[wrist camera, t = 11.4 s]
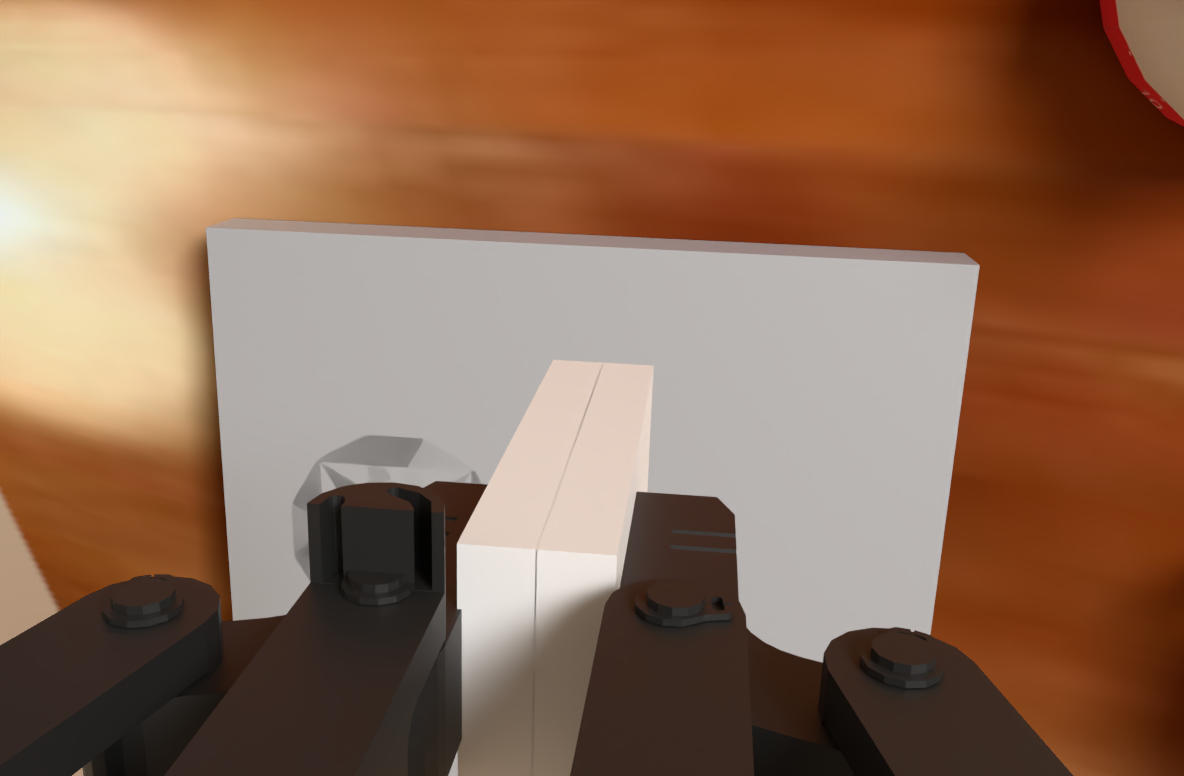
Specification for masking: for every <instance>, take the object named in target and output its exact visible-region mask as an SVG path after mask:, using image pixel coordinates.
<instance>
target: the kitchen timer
mask: <svg viewBox="0 0 1184 776" xmlns="http://www.w3.org/2000/svg"><path fill="white" fill-rule="evenodd" d="M1099 1H1100V8H1101V15H1102V22H1103V28H1104V30H1105V33H1106V35H1107V37H1108V39H1109V41H1110V43H1111V45H1112V47H1113V49H1114V51H1115V53H1116V55H1117V57H1118V59H1119V61H1120V63H1121V65H1122V67H1123V69H1124V72H1125V74H1126V76H1127V78H1128V79H1129V80H1130V81H1131V82H1132V83H1133V84H1134V85H1135V86H1136V87H1137V88H1138V89H1139V90H1140V92H1141V93H1142V94H1143V95H1144V96H1145V97H1146V98H1147V99H1148V100H1149V101H1150V102H1151V103H1152V104H1153V105H1154V106H1155V107H1156V108H1157V109H1158V110H1159V111H1160V112H1161V113H1162V114H1163V115H1164V116H1165V117H1166V118H1168V119H1170V120H1171V121H1173V122H1175V123H1177V124H1179V125H1181V126H1183V127H1184V0H1099Z"/></svg>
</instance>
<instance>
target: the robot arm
mask: <svg viewBox="0 0 1184 776" xmlns="http://www.w3.org/2000/svg"><path fill="white" fill-rule="evenodd" d="M653 367H654V366H653V365H636V364H619V363H601V362H584V361H567V360H553V361H552V363H551V365H550V367H549V369H548V371H547V373H546V375H545V377H544V378H543V380H542V382H541V384H540V386H539V388H538V390H537V392H536V394H535V396H534V398H533V399H532V401H531V403H530V405H529V407H528V409H527V411H526V413H525V415H524V417H523V418H522V420H521V422H520V424H519V426H518V428H517V430H516V432H515V434H514V436H513V438H512V439H511V441H510V443H509V445H508V447H507V449H506V451H505V453H504V455H503V457H502V459H501V460H500V462H499V464H498V466H497V468H496V470H495V472H494V474H493V476H492V478H491V480H490V481H489V483H488V484H474V483H460V482H445V481H435V482H433V483H431V484H429V485H427V486H426V487H424V488H422V487H419V486H415V485H408V484H402V483H395V482H374V483H361V484H355V485H348V486H342V487H339V488H336V489H333V490H330V491H327V492H324V493H321V494H320V495H318V496H317V497H315V498H314V499H312V500H311V501H309V502H308V503H307V520H308V541H309V563H310V584H309V585H308V586H307V588H306V589H305V590H304V592H303V593H302V594H301V596H300V597H299V598H298V600H297V601H296V602H295V604H294V605H293V606H292V607H291V609H290V610H289V611H288V613H287V614H286V615H282V616H275V617H268V618H257V619H246V620H235V621H223V622H222V619H221V605H220V596H219V594H218V593H217V592H216V591H215V590H214V589H213V588H212V586H211V585H208V584H206V583H203V582H200V581H198V580H195V579H192V578H183V577H173V576H171V575H167V574H165V575H154V577H151V575H145V576H138V577H134V578H132V579H131V580H129V581H125V582H121V583H117V584H112V585H109V586H107V587H105V588H103V589H100V590H98V591H96V592H93V593H91V594H89V595H87V596H85V597H83V598H81V599H80V600H78V601H76V602H75V603H73V604H71V605H69V606H68V607H66V608H64V609H62V610H61V611H59V612H57V613H56V614H54V615H52V616H51V617H49V618H47V619H45V620H44V621H42V622H40V623H38V624H37V625H35V626H33V627H31V628H30V629H28V630H26V631H25V632H23V633H21V634H20V635H18V636H16V637H14V638H12V639H11V640H9V641H7V642H6V643H4V644H2V645H0V776H72V775H73V774H74V773H76V772H77V771H78V770H79V769H80V768H82V767H83V775H84V776H448V775H449V772H450V770H451V767H452V764H453V762H454V759H455V756H456V753H457V751H458V776H1073V775H1072V774H1071V773H1070V771H1069V770H1068V769H1067V768H1066V767H1065V766H1064V765H1063V763H1062V762H1061V761H1060V760H1059V759H1058V758H1057V757H1056V755H1055V754H1054V753H1053V752H1052V751H1051V750H1050V748H1049V747H1048V746H1047V745H1046V744H1045V743H1044V742H1043V740H1042V739H1041V738H1040V737H1039V736H1038V735H1037V734H1036V732H1035V731H1034V730H1033V729H1032V728H1031V727H1030V726H1029V724H1028V723H1027V722H1026V721H1025V720H1024V719H1023V718H1022V716H1021V715H1020V714H1019V713H1018V712H1017V711H1016V710H1015V708H1014V707H1013V706H1012V705H1011V704H1010V703H1009V701H1008V700H1007V699H1006V698H1005V697H1004V696H1003V695H1002V693H1001V692H1000V691H999V690H998V689H997V688H996V687H995V685H994V684H993V683H992V682H991V681H990V680H989V679H988V677H987V676H986V675H985V674H984V673H983V672H982V671H981V669H980V668H979V667H978V666H977V665H976V664H975V663H974V662H973V661H972V660H971V659H970V658H968V657H967V656H966V655H965V654H963V653H962V652H961V651H960V650H958V649H957V648H956V647H953V646H951V645H949V644H947V643H945V642H942V641H940V640H938V639H936V638H934V637H932V636H931V635H929V634H926V633H922V632H919V631H916V630H914V632H911V629H905V628H899V627H893V628H867V629H860V630H854V631H848V632H846V633H844V634H842V635H840V636H839V637H837V638H835V639H833V640H831V642H830V643H829V645H828V647H827V649H826V650H825V652H824V656H823V663H822V662H818V661H814V660H810V659H807V658H803V657H799V656H796V655H793V654H790V653H787V652H784V651H781V650H779V649H777V648H775V647H773V646H771V645H769V644H767V643H765V642H763V641H762V640H761V639H759V638H758V637H757V636H755V635H754V634H753V633H751V632H750V631H749V629H748V628H747V626H746V614H745V612H744V610H743V608H742V606H741V603H740V602H739V593H738V571H737V554H736V528H735V514H734V513H733V512H732V511H731V510H730V509H729V508H728V507H727V506H726V505H725V504H724V503H723V502H722V501H721V500H720V499H719V498H718V497H709V496H694V495H680V494H665V493H651V492H647V489H648V469H649V448H650V428H651V408H652V387H653Z"/></svg>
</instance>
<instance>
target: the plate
mask: <svg viewBox="0 0 1184 776" xmlns="http://www.w3.org/2000/svg"><path fill="white" fill-rule="evenodd" d="M206 236H207V251H208V265H209V280H210V294H211V309H212V323H213V338H214V352H215V367H216V381H217V396H218V410H219V425H220V439H221V454H222V468H223V483H224V497H225V512H226V526H227V541H228V555H229V570H230V584H231V598H232V613H233V621H235V620H246V619H257V618H268V617H275V616H282V615H286V614H287V613H288V611H289V610H290V609H291V607H292V606H293V605H294V604H295V602H296V601H297V600H298V598H299V597H300V596H301V594H302V593H303V592H304V590H305V589H306V588H307V586H308V585H309V584H310V563H309V541H308V520H307V503H308V502H309V501H311V500H312V499H314V498H315V497H317V496H318V495H320V494H321V493H324V492H327V491H330V490H333V489H336V488H339V487H342V486H348V485H355V484H361V483H374V482H395V483H402V484H408V485H415V486H419V487H422V488H424V487H426V486H427V485H429V484H431V483H433V482H435V481H445V482H460V483H474V484H488V483H489V481H490V480H491V478H492V476H493V474H494V472H495V470H496V468H497V466H498V464H499V462H500V460H501V459H502V457H503V455H504V453H505V451H506V449H507V447H508V445H509V443H510V441H511V439H512V438H513V436H514V434H515V432H516V430H517V428H518V426H519V424H520V422H521V420H522V418H523V417H524V415H525V413H526V411H527V409H528V407H529V405H530V403H531V401H532V399H533V398H534V396H535V394H536V392H537V390H538V388H539V386H540V384H541V382H542V380H543V378H544V377H545V375H546V373H547V371H548V369H549V367H550V365H551V363H552V361H553V360H567V361H584V362H601V363H619V364H636V365H653V366H654V367H653V387H652V408H651V428H650V448H649V469H648V489H647V492H651V493H665V494H680V495H694V496H709V497H718V498H719V499H720V500H721V501H722V502H723V503H724V504H725V505H726V506H727V507H728V508H729V509H730V510H731V511H732V512H733V513H734V514H735V528H736V554H737V571H738V593H739V602H740V603H741V606H742V608H743V610H744V612H745V614H746V626H747V628H748V629H749V631H750V632H751V633H753V634H754V635H755V636H757V637H758V638H759V639H761V640H762V641H763V642H765V643H767V644H769V645H771V646H773V647H775V648H777V649H779V650H781V651H784V652H787V653H790V654H793V655H796V656H799V657H803V658H807V659H810V660H814V661H818V662H822V663H823V656H824V652H825V650H826V649H827V647H828V645H829V643H830V642H831V640H833V639H835V638H837V637H839V636H840V635H842V634H844V633H846V632H848V631H854V630H860V629H867V628H893V627H899V628H905V629H911V632H914V630H916V631H919V632H922V633H926V634H929V635H930V633H931V625H932V618H933V611H934V603H935V596H936V588H937V581H938V573H939V566H940V558H941V551H942V543H943V536H944V528H945V521H946V513H947V506H948V498H949V491H950V483H951V476H952V468H953V461H954V453H955V446H956V438H957V431H958V423H959V416H960V409H961V401H962V394H963V386H964V379H965V371H966V364H967V356H968V349H969V341H970V334H971V326H972V319H973V311H974V304H975V296H976V289H977V281H978V274H979V266H980V265H979V264H977V263H976V262H975V261H974V260H972V259H971V258H970V257H969V256H967V255H966V254H965V253H952V252H932V251H911V250H890V249H869V248H848V247H827V246H806V245H785V244H765V243H744V242H723V241H702V240H681V239H660V238H639V237H618V236H598V235H577V234H556V233H535V232H514V231H493V230H472V229H451V228H430V227H410V226H389V225H368V224H347V223H326V222H305V221H284V220H263V219H243V218H232V219H229V220H226V221H223V222H221V223H218V224H215V225H212V226H209V227H206ZM448 776H458V751H457V753H456V756H455V759H454V762H453V764H452V767H451V770H450V772H449V775H448Z"/></svg>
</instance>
